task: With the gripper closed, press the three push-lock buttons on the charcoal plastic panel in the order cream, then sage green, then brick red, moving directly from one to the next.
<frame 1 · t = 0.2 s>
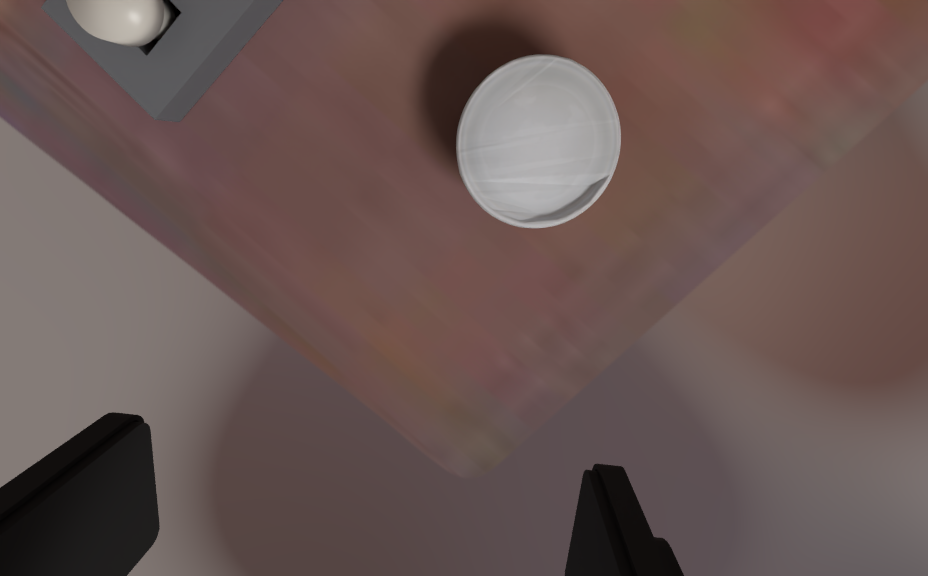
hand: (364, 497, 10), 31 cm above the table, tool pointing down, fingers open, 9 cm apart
button cream: (131, 7, 33), point 4 cm above the table, slide at 0.0 cm
ramekin: (530, 146, 38), on the table
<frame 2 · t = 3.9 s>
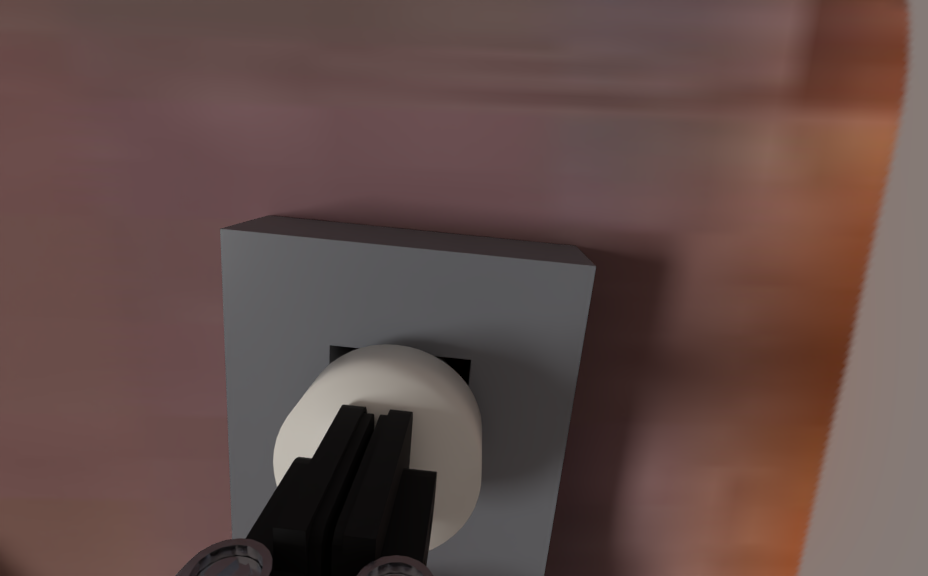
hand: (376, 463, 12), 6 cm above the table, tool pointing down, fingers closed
button cream: (395, 420, 14), point 3 cm above the table, slide at 0.7 cm, touching gripper
button panel: (398, 558, 19), on the table
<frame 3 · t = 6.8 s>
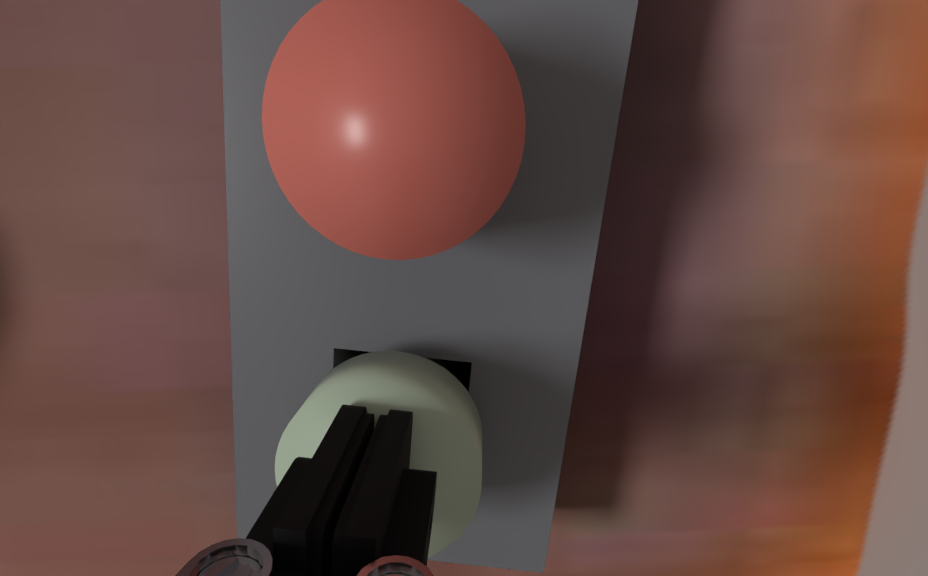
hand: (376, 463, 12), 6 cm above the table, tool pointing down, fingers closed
button red: (411, 136, 12), point 4 cm above the table, slide at 0.0 cm
button sage: (395, 425, 14), point 3 cm above the table, slide at 0.5 cm, touching gripper
button panel: (429, 141, 15), on the table
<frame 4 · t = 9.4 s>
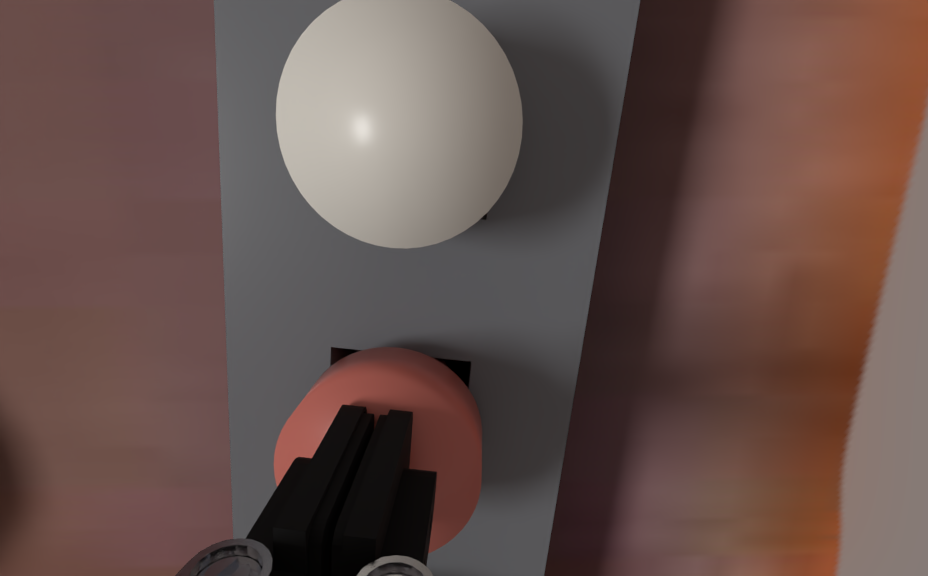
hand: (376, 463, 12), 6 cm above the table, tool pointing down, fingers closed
button red: (395, 422, 14), point 3 cm above the table, slide at 0.7 cm, touching gripper
button cream: (415, 132, 12), point 3 cm above the table, slide at 0.9 cm
button panel: (411, 373, 17), on the table
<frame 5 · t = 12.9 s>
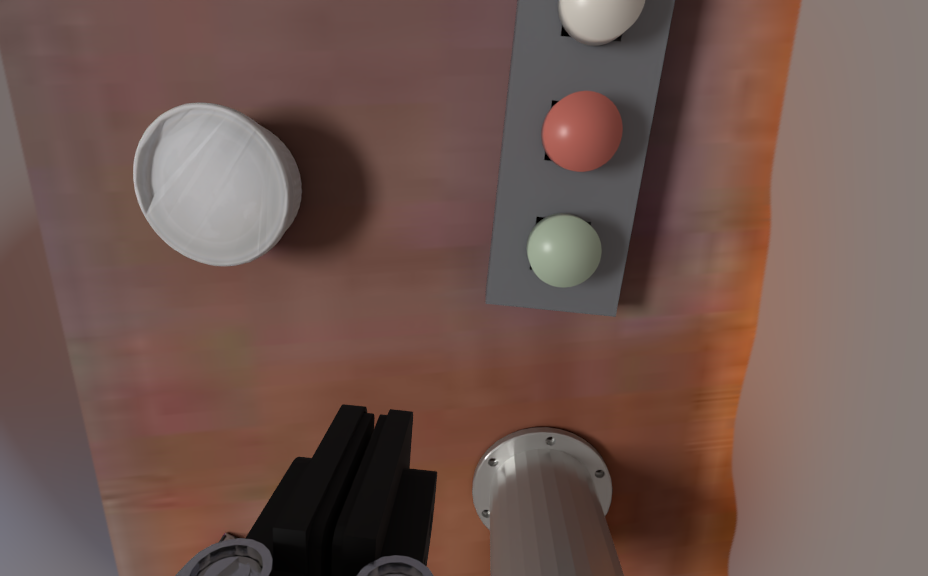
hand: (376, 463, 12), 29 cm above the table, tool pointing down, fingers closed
button red: (576, 133, 34), point 3 cm above the table, slide at 1.0 cm
button cream: (595, 5, 32), point 3 cm above the table, slide at 0.9 cm
button sage: (559, 246, 36), point 3 cm above the table, slide at 1.0 cm
button panel: (569, 134, 37), on the table
ramekin: (246, 183, 39), on the table
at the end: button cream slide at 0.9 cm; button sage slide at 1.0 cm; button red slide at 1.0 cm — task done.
